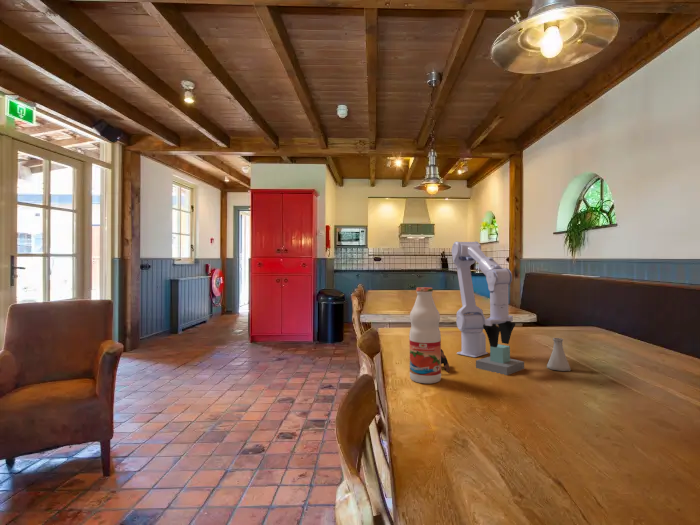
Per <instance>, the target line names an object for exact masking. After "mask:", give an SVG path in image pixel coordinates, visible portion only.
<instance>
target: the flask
mask: <svg viewBox="0 0 700 525" xmlns="http://www.w3.org/2000/svg"><path fill="white" fill-rule="evenodd" d="M552 341H553V347H552V352H551V354H550V357H549V359H548V362H547V364H546V368H547V369H548V370H552V371H559V372H570V371H571V366H570V364H569V361H568V359H567V357H566V353H565V351H564V346H563V342H564V338H561V337H553V338H552Z"/></svg>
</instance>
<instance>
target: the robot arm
mask: <svg viewBox="0 0 700 525" xmlns="http://www.w3.org/2000/svg"><path fill="white" fill-rule="evenodd" d="M451 255H452V257H451V258H452V260H453V264H454V265H455V266H456V271H457V278H458V286H459V292H460V293H459V294H460V298H461V305H462V306H461V307H460V308H459V309H458V310H457V312H456V327H457V328H458V330H459V331H460V333H461V334H460V335H461V350H460V351H458V352H456V355H460V356H461V355H462V356H466V357H470V358H471V357H472V358H477V357H481V356H484V355H487V354H489V353H488V352H487V346H486V345H487V343H486V342H487V341H486V339H488V342H489V347H490V346H491V347H497V346H498V344H499V337H500V341H501V344H504V345H505V344H506V345H509V343H510V340H511V336H512V332H513V330H514V329H515V326H516V322H513V321H514V320H513V319H514V318H513V315H509V314H510V313H509V311H510V310H509V286H510V285H511V283H512V282H513V274H512V271H511V270H510V269H509V268H508V267H506V268H505V267H502V266H501V265H500V264H499V263H498V262H496V260H494V258H493V257H492V256H486V254H485V253H484V252H483V250H482V244H481V243H479V242H478V241H476V240H475V241H454V242H453V243H452V248H451ZM475 263H478V268H479V270H480V271H481V272H482V273H483V274H484V276H485V277H486V278H485V279H486V283H487V288H488V291H489V305H490V306H489V308H490V311H489V312H490V313H489V314H490V315H489V317H487V318H486V317H485V314H484V311H483V309H482V308H480V307H479V306H478V305H477V304H476V303H477V302H476V297H475V292H474V284H473V280H472V278H473V277H472V272H471V271H472V270H471V265H473V264H475ZM484 331H485V333H486V335H487V338H486V335H485V333H484ZM499 335H500V336H499Z"/></svg>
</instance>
